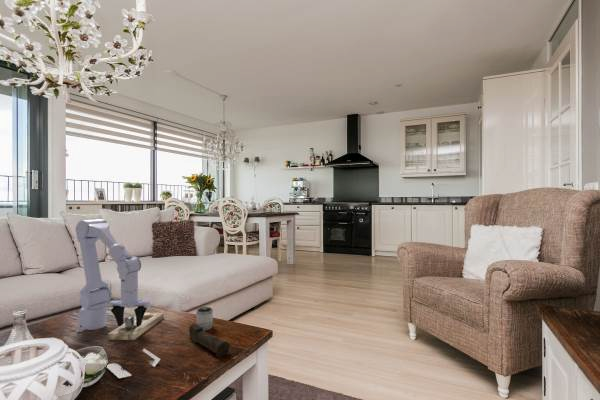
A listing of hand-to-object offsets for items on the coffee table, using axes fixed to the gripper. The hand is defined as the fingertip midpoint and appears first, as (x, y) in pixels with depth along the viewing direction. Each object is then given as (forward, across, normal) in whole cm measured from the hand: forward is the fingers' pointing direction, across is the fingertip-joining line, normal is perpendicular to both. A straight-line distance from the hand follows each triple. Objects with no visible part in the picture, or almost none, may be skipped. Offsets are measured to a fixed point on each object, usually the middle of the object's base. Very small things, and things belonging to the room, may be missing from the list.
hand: (129, 325), depth 123 cm
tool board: (+4, 0, +6) cm, 7 cm away
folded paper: (+5, +14, -22) cm, 26 cm away
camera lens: (+4, +26, +8) cm, 28 cm away
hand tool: (+4, +32, -8) cm, 33 cm away
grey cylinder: (+3, 0, 0) cm, 3 cm away
